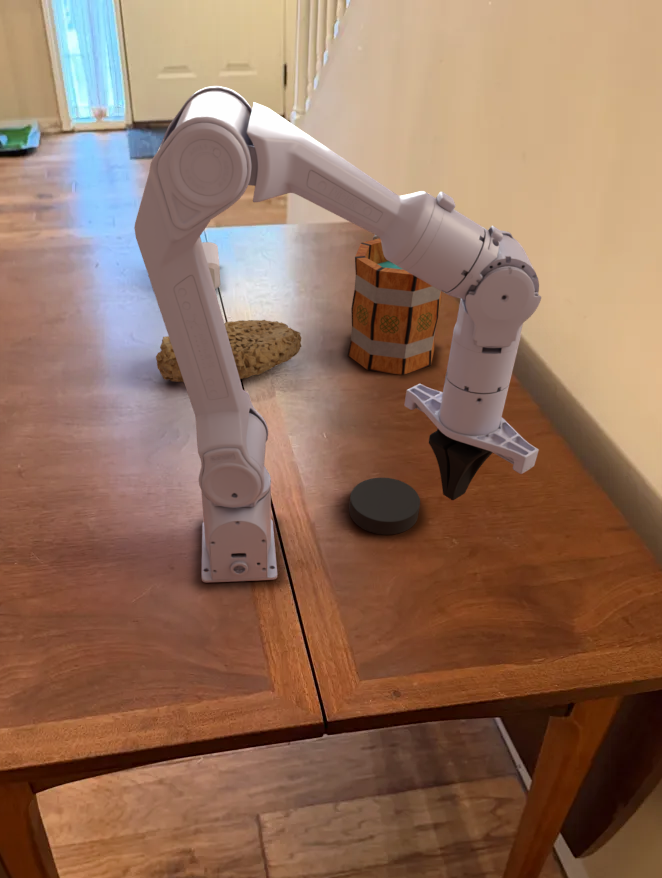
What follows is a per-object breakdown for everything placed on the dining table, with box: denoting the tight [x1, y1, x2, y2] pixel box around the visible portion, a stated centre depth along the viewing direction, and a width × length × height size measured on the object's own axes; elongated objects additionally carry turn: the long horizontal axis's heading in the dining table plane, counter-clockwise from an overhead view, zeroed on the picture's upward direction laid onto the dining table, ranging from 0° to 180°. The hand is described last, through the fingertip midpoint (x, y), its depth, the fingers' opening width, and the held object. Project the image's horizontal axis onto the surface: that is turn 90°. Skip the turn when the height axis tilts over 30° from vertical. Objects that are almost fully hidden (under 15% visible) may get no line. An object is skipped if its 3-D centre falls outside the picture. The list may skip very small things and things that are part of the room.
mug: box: [347, 234, 443, 376], centre depth 115 cm, size 20×14×15 cm
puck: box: [348, 477, 421, 536], centre depth 90 cm, size 8×8×2 cm
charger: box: [202, 241, 221, 290], centre depth 132 cm, size 5×9×15 cm
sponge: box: [155, 319, 303, 383], centre depth 111 cm, size 13×8×20 cm
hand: (454, 493), depth 80 cm, fingers closed
